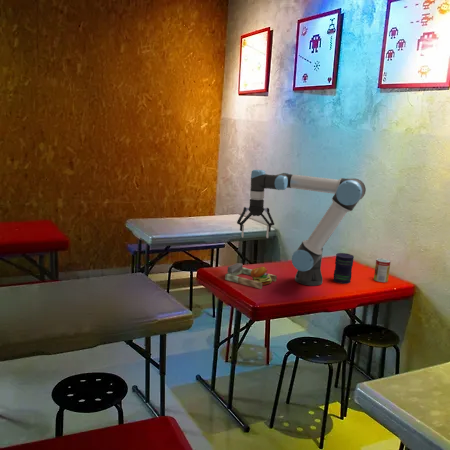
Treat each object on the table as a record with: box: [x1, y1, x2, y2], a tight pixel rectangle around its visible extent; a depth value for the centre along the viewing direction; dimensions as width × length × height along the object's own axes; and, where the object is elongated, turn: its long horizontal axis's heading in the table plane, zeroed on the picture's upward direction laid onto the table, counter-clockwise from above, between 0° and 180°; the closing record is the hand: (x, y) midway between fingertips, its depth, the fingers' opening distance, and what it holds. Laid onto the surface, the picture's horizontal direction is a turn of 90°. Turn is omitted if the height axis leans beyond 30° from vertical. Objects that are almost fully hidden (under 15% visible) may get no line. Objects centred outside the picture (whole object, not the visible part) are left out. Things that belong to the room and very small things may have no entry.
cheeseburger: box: [250, 266, 273, 286], centre depth 267 cm, size 10×11×10 cm
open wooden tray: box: [224, 262, 277, 290], centre depth 271 cm, size 23×18×6 cm
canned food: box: [373, 257, 391, 283], centre depth 286 cm, size 8×8×12 cm
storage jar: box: [332, 252, 355, 285], centre depth 279 cm, size 10×10×15 cm
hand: (254, 237), depth 270 cm, fingers open, 13 cm apart
